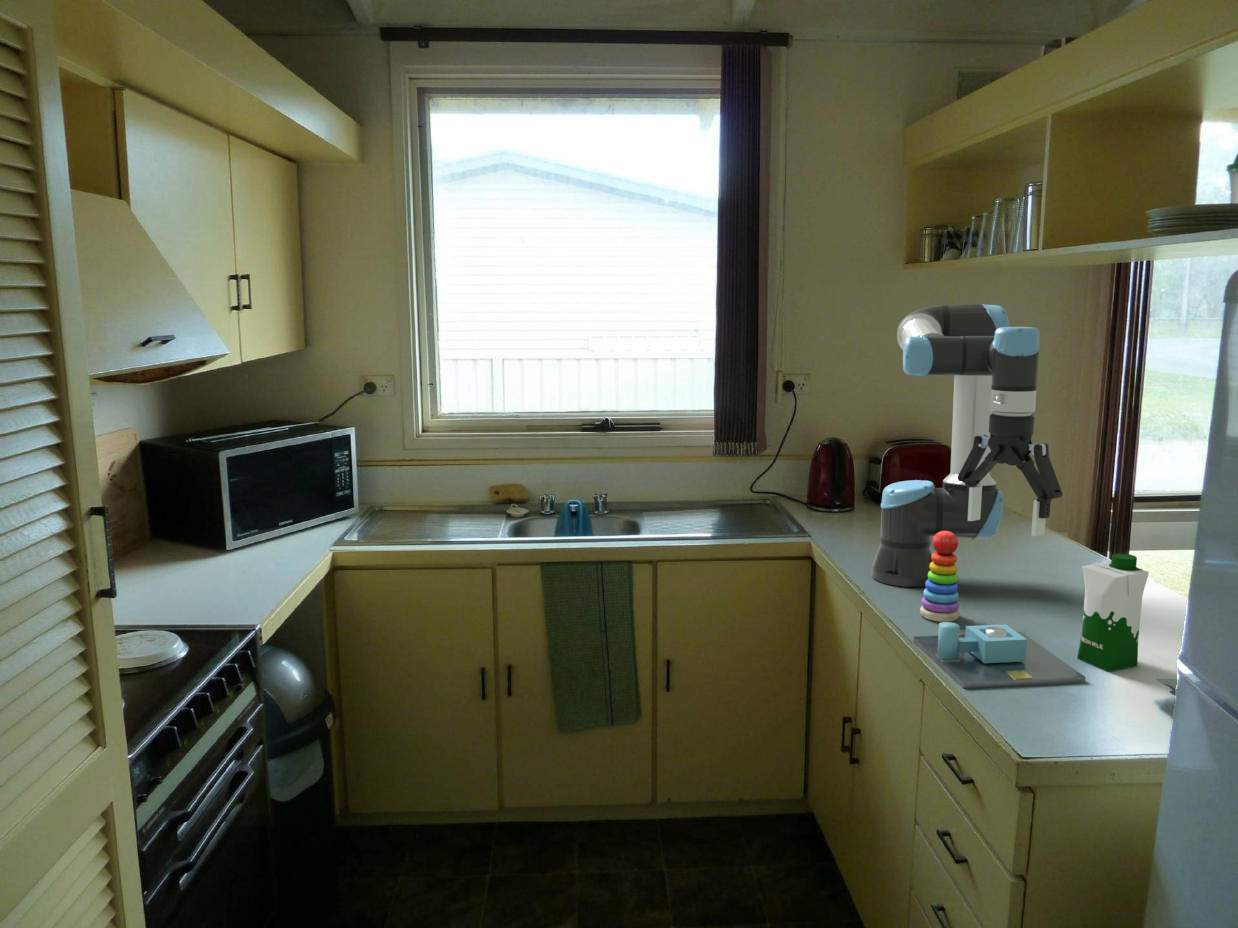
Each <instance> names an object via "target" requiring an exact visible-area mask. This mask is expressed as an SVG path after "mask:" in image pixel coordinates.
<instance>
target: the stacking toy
mask: <svg viewBox="0 0 1238 928" xmlns="http://www.w3.org/2000/svg"><path fill="white" fill-rule="evenodd" d="M932 538H933V539H932V541H931V545H932V547H933V550H934V551H935V552H932V555H931V559H932V561H933V562H931V563H930V566H929V567H930V570H931V571H929V573H928V580H927V581H926V583H925V586H924V587H925V588H924V590H923V593H922V594H923V597H922V599H921V606H920V608H919V613H920V615H921V616H922V617H923V618H925V619H927V620H929V621H933V622H939V623H942V622H955V621H956V620H958V619H959V617H960V610H959V608H960V603H959V597H960V596H959V593H958V590H959V585H958V583H957V582H958V579H959V577H958V574H957V571H958V566H957V564H956V563H957V561H958V558H957V555H955V551H957V549H958V547H959V540H958V539H959V538H957V537H956V536H955V535H954V534H953V533H952V532H949V531H940V532H938V533H937V534H936V535H935V536H934V537H932Z"/></svg>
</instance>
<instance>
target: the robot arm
mask: <svg viewBox="0 0 1238 928" xmlns="http://www.w3.org/2000/svg"><path fill="white" fill-rule="evenodd" d="M1040 333H1041V332H1040V330H1039V329H1038V328H1037V327H1033V326H1032V327H1031V326H1010V319H1009V317H1008V313H1007V311H1006V310H1005V308H1004V307H1003V306H1001V305H996V304H983V303H982V304H950V305H945V304H944V305H941V304H937V305H928V306H925V307H922V308H919V309H916V310H914V311H912V312H910V313H908V314H907V315H906V316H904V317H903V318H902V320H901V321H900V322H899V324H898V325H897V328H896V340H897V343H898V345H899V347H900V349H902V369H903V372H904V374H906V375H908V376H918V377H926V376H954V377H953V378H954V379H953V401H952V403H953V404H952V425H951V426H952V429H951V451H950V452H951V453H950V454H951V455H950V473H949V474H948V475H947V476H946V477H945V478H944V479H943V480H942V487H936V486H935V484H934V482H932V481H930V480H926V479H925V480H921V479H919V480H918V479H914V480H913V479H912V480H903V481H896V482H894V483H890V484H889V485H887V486H885V487H884V488H883V490H882V496H881V503H880V508H881V517H880V518H881V519H880V537H879V538H880V539H879V540H880V541H879V547H878V549H877V551H876V555H875V557H874V560H873V563H872V566H871V577H872V578H873V579H874V580H875V581H877V582H880V583H882V584H885V585H889V586H890V585H891V586H894V587H895V586H896V587H907V588H911V587H912V588H915V587H916V588H917V587H920V588H921V587H926V586H925V583H926V581H927V580H928V573H929V571H931V570H930V567H929V566H930V563H931V562H933V561H932V559H931V555H932V554H933V552H932V538H934V536H935V535H936V534H937V533H938V532H940V531H949V532H952V533H953V534H954V535H955V536H956V537H957V539H971V540H980V539H981V540H983V539H984V540H986V539H987V540H988V539H991V538H992V537H994V536H995V535H996V533H997V532H998V530H999V529H1000V528H999V527H1000V524H1001V522H1002V517H1003V510H1004V493H1003V491H1002V490H1000V489H999V488H997V481H996V480H995V479H993V477H992V476H991V474H990V473H991V471H992V470H993V468H994V467H996V465H997V464H1006V465H1008V466H1016V468H1017V469H1018V470H1020V471H1021V473H1022V474H1023V476H1024V478H1025V479H1026V481H1027V483H1028V485H1029V486H1030V488H1031V489H1032V491H1033V492H1034V494H1035V497H1037V498H1036V499H1034V500H1033V506H1032V518H1031V522H1032V523H1031V533H1030V536H1031V537H1038V536H1044V535H1045V533H1046V520H1047V519H1048V518H1050V515H1051V502H1052V500H1053V499H1060V498H1062V497H1063V491H1062V488H1061V486H1060V483H1059V481H1058V478H1057V475H1056V472H1055V470H1054V467H1053V465H1052V461H1051V459H1050V455H1049V454H1050V453H1049V445H1048V443H1046V442H1045V443H1037V444H1033V443H1032V442H1033V441H1032V438H1033V435H1034V430H1035V429H1034V428H1035V416H1034V415H1033V414H1032V413H1034V412H1035V411H1036V403H1037V402H1036V401H1037V383H1038V382H1037V381H1038V372H1039V371H1038V370H1039V369H1038V367H1039V356H1040V350H1041V344H1040ZM1030 454H1031V455H1032V456H1033V457H1034V460H1033V458H1032V457H1031V455H1030ZM1035 464H1036V466H1035ZM1036 467H1037V468H1036Z"/></svg>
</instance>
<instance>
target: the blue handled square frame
mask: <svg viewBox="0 0 1238 928" xmlns="http://www.w3.org/2000/svg"><path fill="white" fill-rule="evenodd" d="M987 627H1000V628H1003V629H1005V630H1006V631H1007V633H1006V637H995V638H990V637H988V636H987V635H986V634H985V630H986V628H987ZM960 629H961V628H960V625H959V624H958V623H955V622H953V621H951V622H939V623H938V632H937V634H938V635H937V636H938V651H937V656H938V657H939V658H941V659H945V660H956V659H957V658H958V652H971V653H972V654H974V655H975V656H976V657H977V658H978V659H980V660H981V661H982V662H983V663H1002V662H1023V661H1026V648H1027V639H1026V638H1024V637H1023V636H1021V635H1020V634H1019V633H1017V632H1018V631H1016V630H1014V629H1013V628H1012V627H1010V626H1009V625H1008V624H983V625H966V626H965V633H964V634H965V638H959V635H960Z"/></svg>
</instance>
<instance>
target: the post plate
mask: <svg viewBox="0 0 1238 928" xmlns="http://www.w3.org/2000/svg"><path fill="white" fill-rule="evenodd" d="M1016 632H1017V633H1019V634H1020V635H1021V636H1023V637H1024V638H1026V639H1027V648H1026V661H1023V662H1002V663H983V662H982V661H981V660H980V659H978V658H977V657H976V656H975V655H974V654H972V653H971V652H958V658H957V659H956V660H945V659H941V658H939V657H938V656H937V651H938V635H921V636H912V637H913V638H912V641H913V643H914V644H915V645H916V646H917V647H919V649H921V650H922V652H924V653H925V654H926V655H927V656H928V657H930V659H932V661H934V663H936V664H937V666H939V667H940V668H941V669H942V670H943V671H944V672H945V673H946V674H947V675H949V676H950V677H951V678H952V679H953V680H954V681H955V682H956V683H957V684H958V685H959V686H960V687H961V688H962V689H973V688H974V689H975V688H976V689H979V688H980V689H981V688H995V687H996V688H997V687H998V688H1000V687H1017V686H1019V687H1020V686H1034V685H1035V686H1036V685H1037V686H1039V685H1040V686H1041V685H1057V684H1058V685H1060V684H1076V683H1086V676H1085V675H1083V674H1082V673H1080V672H1079V671H1078V670H1076V669H1075V668H1073V667H1072V666H1071V665H1070V664H1068V663H1066V662H1065V661H1063V660H1062V659H1061V658H1059V657H1058V656H1056V655H1055V654H1054V653H1052V652H1050V651H1049V650H1048V649H1046V648H1045V647H1044V646H1042V645H1040V644H1039V643H1037V642H1036V641H1034V639H1032V638H1031V637H1029V636H1028V635H1026V634H1025V633H1024V632H1022V631H1016ZM1006 633H1007V631H1006V630H1005V629H1003V628H1000V627H987V628H986V630H985V634H986V635H987V636H988V637H990V638H995V637H1006ZM965 634H966V633H963V634H959V638H965Z"/></svg>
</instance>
